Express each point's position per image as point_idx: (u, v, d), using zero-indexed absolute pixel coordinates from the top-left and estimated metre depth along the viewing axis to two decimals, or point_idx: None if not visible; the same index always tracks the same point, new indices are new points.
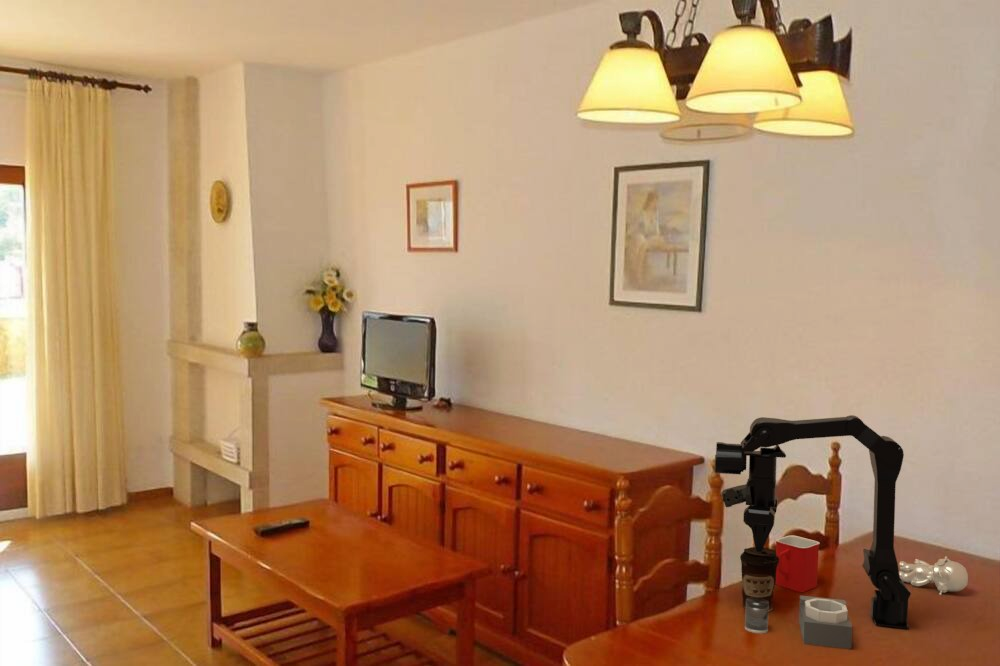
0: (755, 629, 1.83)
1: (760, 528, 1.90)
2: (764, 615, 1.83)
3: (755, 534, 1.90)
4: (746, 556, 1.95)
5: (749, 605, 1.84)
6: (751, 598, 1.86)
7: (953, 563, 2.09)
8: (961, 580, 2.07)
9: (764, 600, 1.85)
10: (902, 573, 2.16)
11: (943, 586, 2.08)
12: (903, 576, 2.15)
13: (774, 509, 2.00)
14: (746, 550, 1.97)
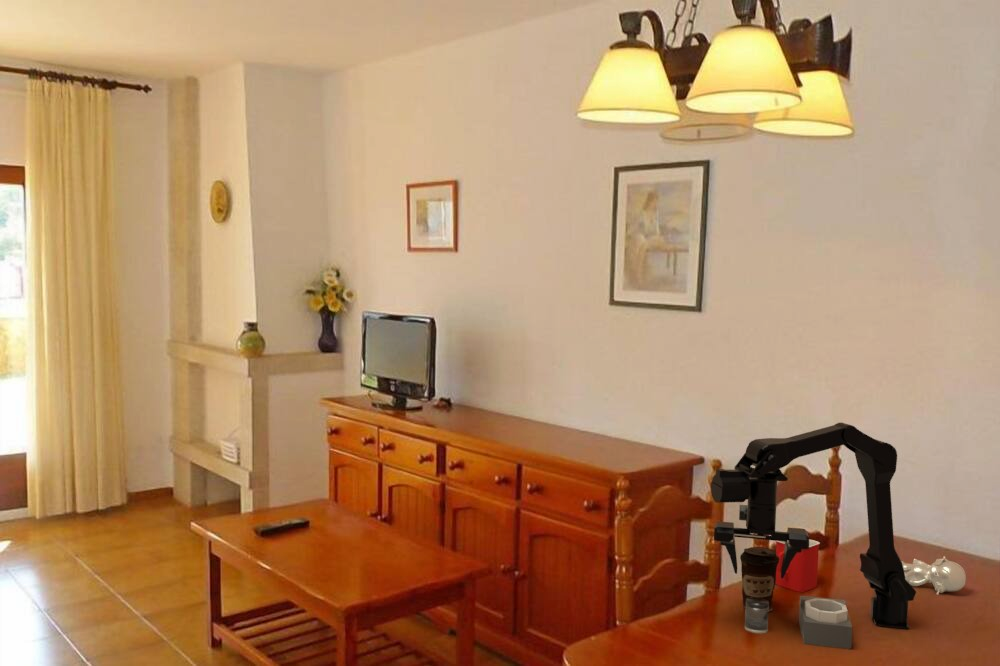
0: (755, 629, 1.83)
1: None
2: (764, 615, 1.83)
3: None
4: (746, 556, 1.95)
5: (749, 605, 1.84)
6: (751, 598, 1.86)
7: (951, 563, 2.09)
8: (958, 580, 2.07)
9: (764, 600, 1.85)
10: None
11: (940, 586, 2.08)
12: None
13: (791, 549, 1.80)
14: (746, 550, 1.97)
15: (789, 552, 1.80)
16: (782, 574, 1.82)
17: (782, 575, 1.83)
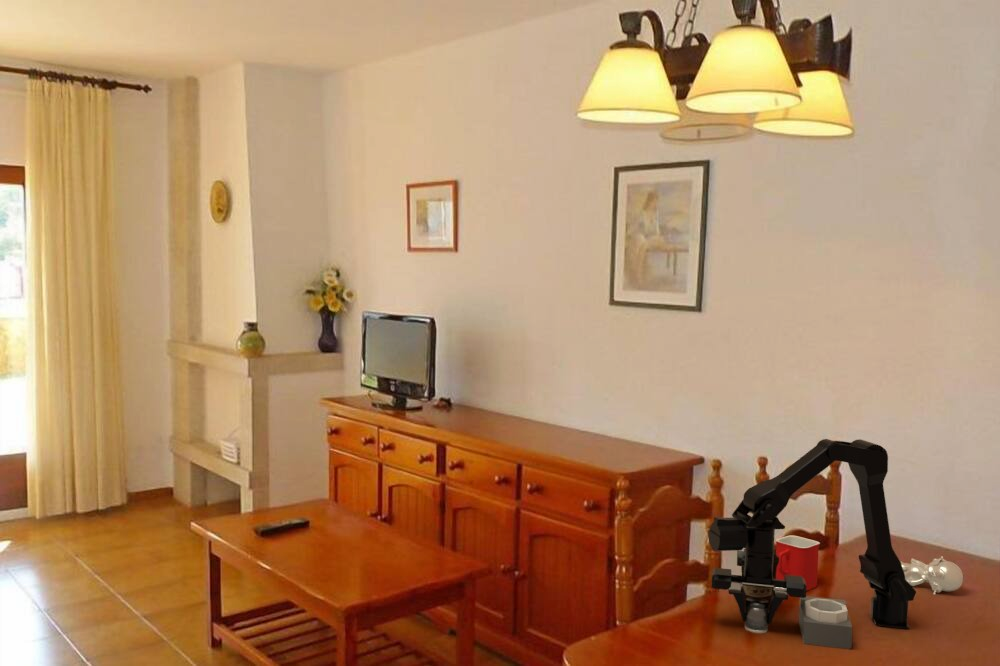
0: (755, 629, 1.83)
1: None
2: (764, 614, 1.83)
3: None
4: None
5: (749, 605, 1.84)
6: (751, 598, 1.86)
7: (947, 563, 2.09)
8: (955, 580, 2.07)
9: (764, 600, 1.85)
10: None
11: (937, 586, 2.08)
12: None
13: (777, 596, 1.81)
14: None
15: (775, 599, 1.81)
16: (769, 620, 1.84)
17: (769, 621, 1.84)
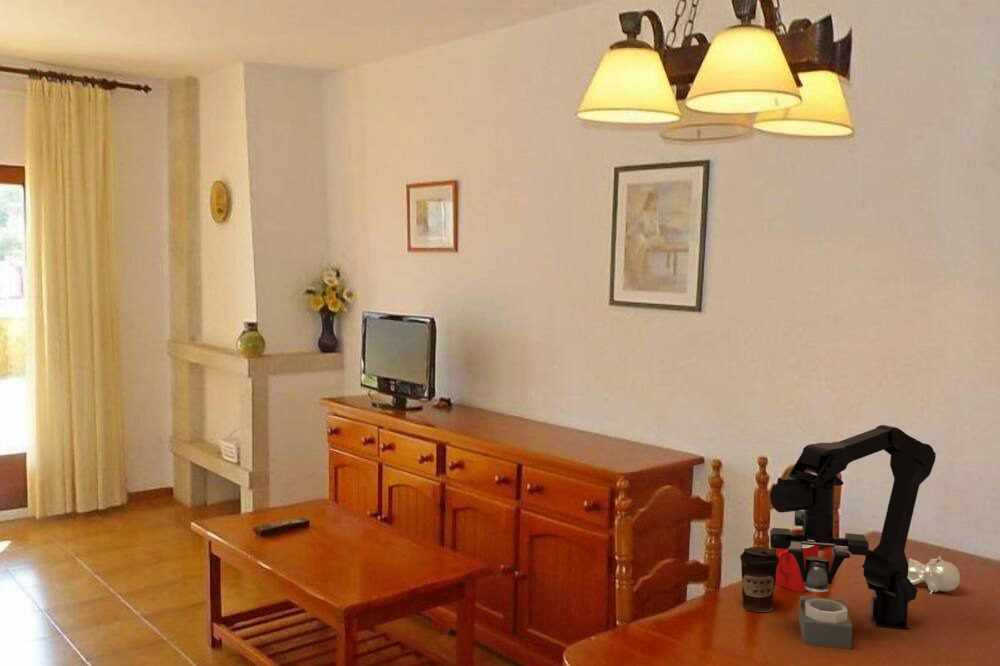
0: (816, 588, 1.80)
1: None
2: (825, 573, 1.80)
3: None
4: (746, 556, 1.95)
5: (809, 564, 1.81)
6: (811, 557, 1.83)
7: (944, 563, 2.09)
8: (951, 580, 2.07)
9: (824, 559, 1.82)
10: None
11: (933, 585, 2.08)
12: None
13: (839, 554, 1.78)
14: (746, 550, 1.97)
15: (837, 558, 1.78)
16: (830, 580, 1.80)
17: (830, 581, 1.80)
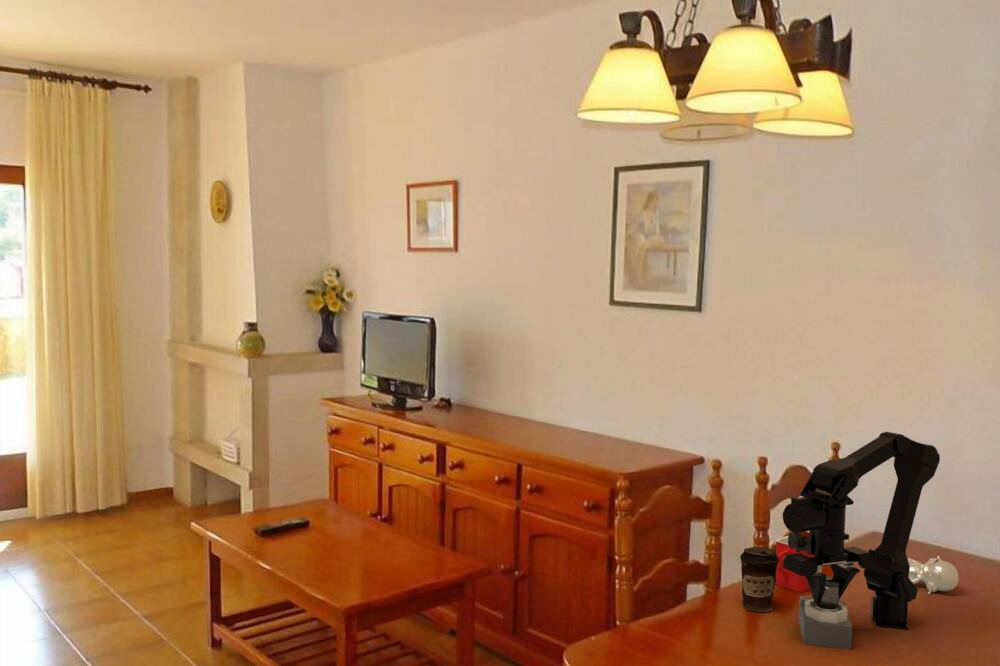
0: (833, 608, 1.79)
1: (814, 578, 1.80)
2: None
3: (810, 583, 1.81)
4: (746, 556, 1.95)
5: (826, 585, 1.79)
6: None
7: (943, 563, 2.09)
8: (950, 580, 2.07)
9: (830, 577, 1.82)
10: None
11: (932, 585, 2.09)
12: None
13: (851, 570, 1.80)
14: (746, 550, 1.97)
15: (851, 574, 1.80)
16: (839, 597, 1.82)
17: (839, 598, 1.82)
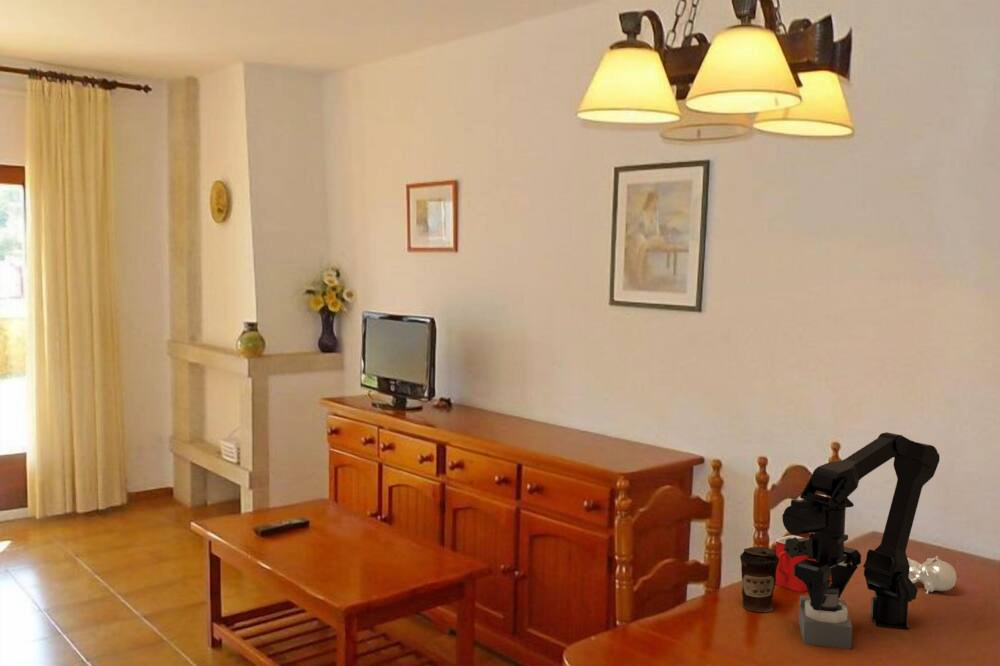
0: None
1: (815, 585, 1.77)
2: None
3: (810, 590, 1.78)
4: (746, 556, 1.95)
5: (831, 593, 1.79)
6: None
7: (941, 563, 2.09)
8: (947, 580, 2.07)
9: None
10: None
11: (930, 585, 2.09)
12: None
13: (852, 567, 1.84)
14: (746, 550, 1.97)
15: (852, 571, 1.83)
16: (840, 595, 1.84)
17: (839, 596, 1.84)
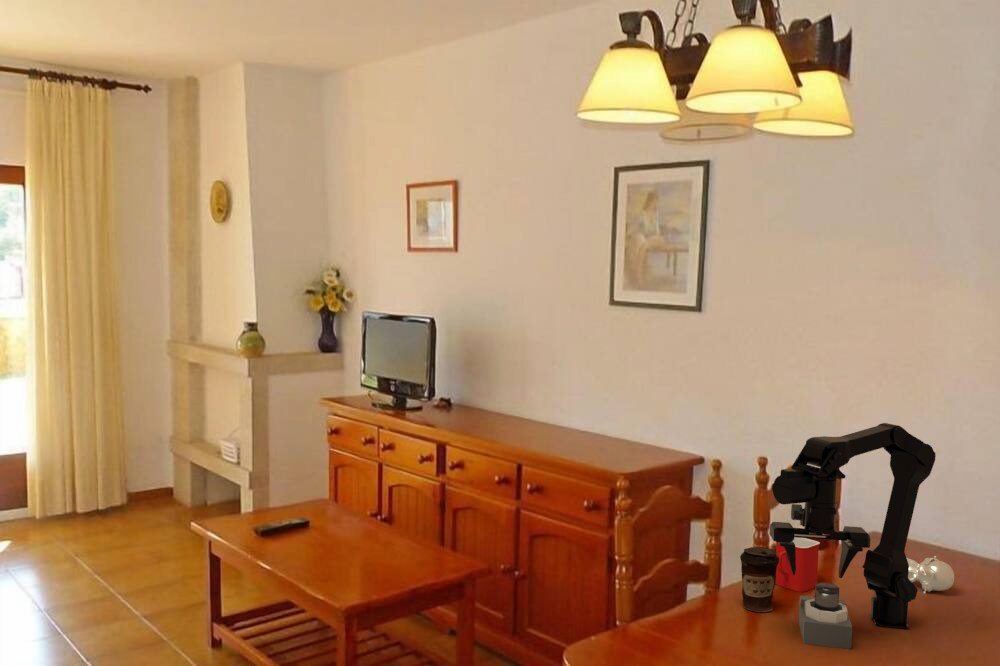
0: None
1: None
2: None
3: (787, 553, 1.82)
4: (746, 556, 1.95)
5: (831, 593, 1.79)
6: (819, 586, 1.81)
7: (938, 562, 2.09)
8: (945, 579, 2.07)
9: (826, 584, 1.83)
10: None
11: (927, 585, 2.09)
12: None
13: (852, 548, 1.77)
14: (746, 550, 1.97)
15: (850, 551, 1.77)
16: (841, 574, 1.80)
17: (841, 575, 1.80)
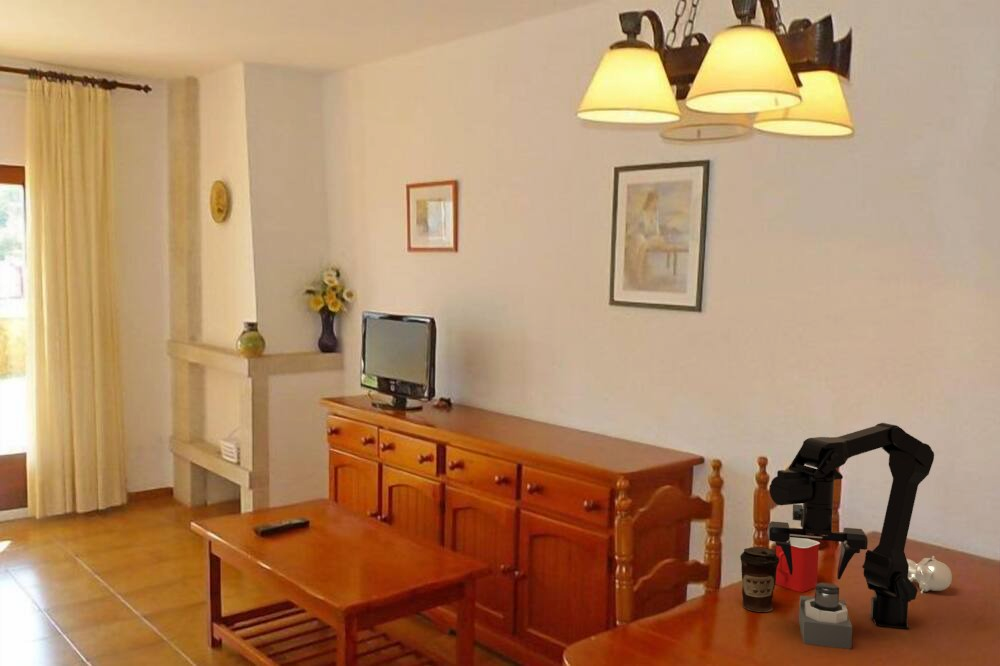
0: None
1: None
2: None
3: None
4: (746, 556, 1.95)
5: (831, 593, 1.79)
6: (819, 586, 1.81)
7: (936, 562, 2.09)
8: (942, 579, 2.07)
9: (826, 584, 1.83)
10: None
11: (924, 585, 2.09)
12: None
13: (849, 549, 1.77)
14: (746, 550, 1.97)
15: (847, 553, 1.77)
16: (839, 575, 1.79)
17: (839, 576, 1.79)
